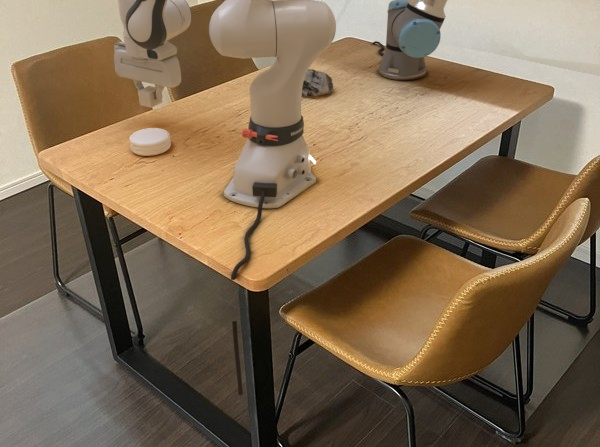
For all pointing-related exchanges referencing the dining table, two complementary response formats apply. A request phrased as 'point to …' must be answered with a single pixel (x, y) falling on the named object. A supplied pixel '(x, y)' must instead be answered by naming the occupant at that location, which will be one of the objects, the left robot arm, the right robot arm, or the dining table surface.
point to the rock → (316, 83)
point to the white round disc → (150, 141)
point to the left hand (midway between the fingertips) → (150, 97)
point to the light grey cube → (148, 97)
